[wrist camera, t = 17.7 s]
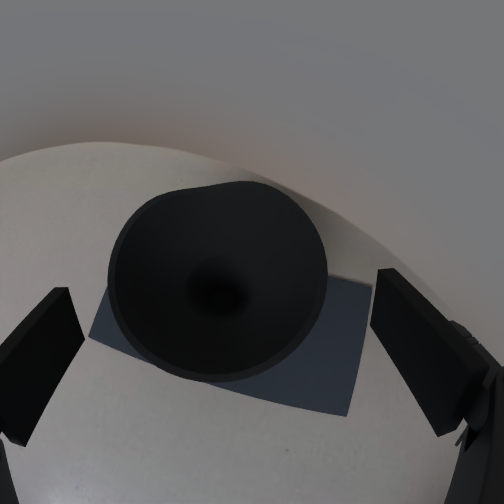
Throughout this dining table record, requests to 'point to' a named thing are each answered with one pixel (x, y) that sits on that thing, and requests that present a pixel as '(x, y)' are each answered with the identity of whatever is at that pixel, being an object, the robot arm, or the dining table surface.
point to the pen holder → (217, 280)
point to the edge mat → (293, 353)
